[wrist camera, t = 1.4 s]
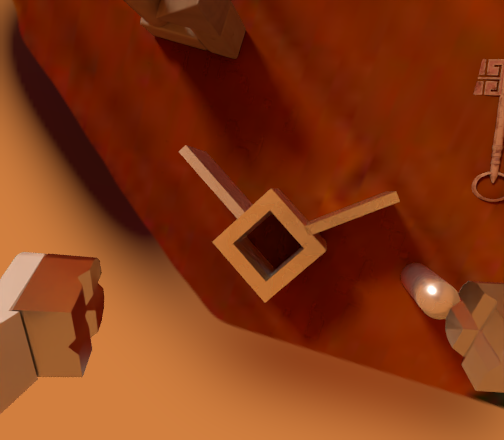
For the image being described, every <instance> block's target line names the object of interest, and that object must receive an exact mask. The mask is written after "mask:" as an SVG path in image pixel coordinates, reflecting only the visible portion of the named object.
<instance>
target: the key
mask: <svg viewBox="0 0 504 440" xmlns="http://www.w3.org/2000/svg"><path fill="white" fill-rule="evenodd" d="M494 65H502V67H501V74H500V78H498V77H478V79H493V80H499V87H498V92H491V90H496V87H497V82H495V81H486V84H485V91H484V95H496V96H500V98H499V105H498V113H497V120H496V128H495V135H494V143H493V146H492V150H493V153H492V156H491V157H492V161H491V170H490V172H486V173H482V174H480V175H478V176H477V177H476V178H475V179H474V180H473V183H472V191H473V193H474V194H475V195H476V196H477V197H478V198H480V199H482V200H484V201H488V202H498V201H502V200H504V196H503V197H501V198H499V199H488V198H485V197H483V196H481V195H480V194H479V193H478V192H477V190H476V183H477V181H478V180H479V179H480V178H481V177H483V176H485V175H489V174H490V178H491V182H492V183H494V182H495V180H496V178H497V177H498V175H500V176H502V177H504V174H502V173H499V172H498V170H499V165H500V157H501V151H502V149H503V146H502V145H503V138H504V59H489V61H488V69H487V75H494V76H498V72H499V67H494ZM485 66H486V59H483V60H482V64H481V68H480V71H479V75H484V74H485ZM482 89H483V81H477V83H476V87H475V91H474V94H475V95H482Z"/></svg>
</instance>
